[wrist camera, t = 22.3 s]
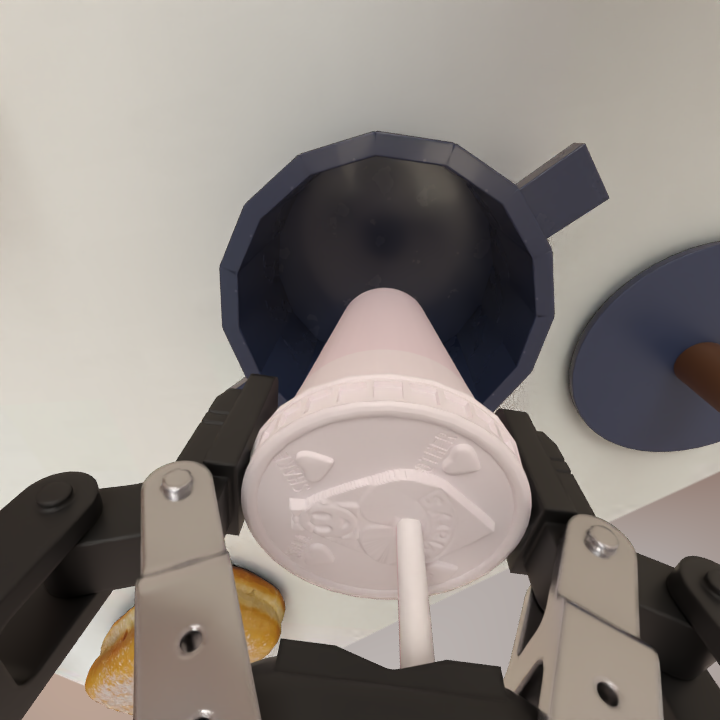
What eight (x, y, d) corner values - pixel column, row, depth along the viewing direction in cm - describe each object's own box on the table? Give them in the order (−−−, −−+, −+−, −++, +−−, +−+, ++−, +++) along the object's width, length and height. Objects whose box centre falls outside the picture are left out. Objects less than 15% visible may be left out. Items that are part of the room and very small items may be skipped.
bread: (96, 629, 50) (50, 708, 43) (199, 532, 39) (159, 617, 33) (189, 668, 54) (160, 746, 47) (306, 589, 43) (291, 676, 36)
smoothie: (449, 393, 18) (572, 893, 6) (312, 388, 19) (180, 858, 7) (470, 257, 15) (801, 736, 3) (305, 251, 16) (25, 678, 3)
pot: (193, 268, 26) (116, 322, 19) (463, 24, 19) (512, -45, 12) (334, 415, 31) (319, 502, 24) (585, 264, 24) (672, 322, 17)
